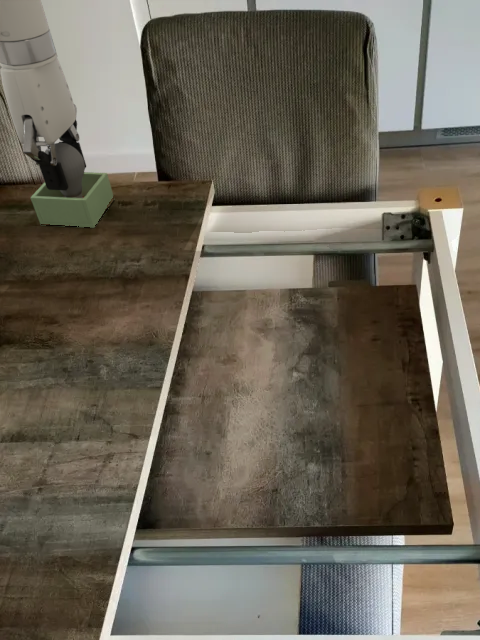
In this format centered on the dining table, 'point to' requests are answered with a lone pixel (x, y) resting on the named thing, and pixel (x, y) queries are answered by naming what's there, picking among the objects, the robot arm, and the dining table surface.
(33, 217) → the dining table surface
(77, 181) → the light bulb
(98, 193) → the box
